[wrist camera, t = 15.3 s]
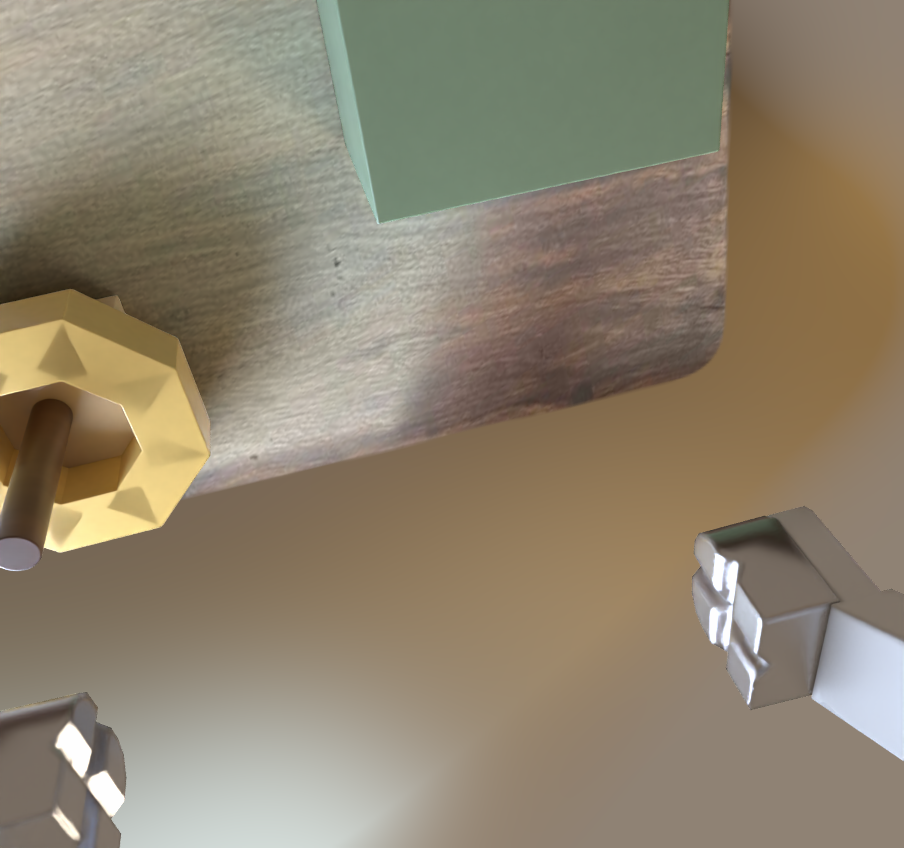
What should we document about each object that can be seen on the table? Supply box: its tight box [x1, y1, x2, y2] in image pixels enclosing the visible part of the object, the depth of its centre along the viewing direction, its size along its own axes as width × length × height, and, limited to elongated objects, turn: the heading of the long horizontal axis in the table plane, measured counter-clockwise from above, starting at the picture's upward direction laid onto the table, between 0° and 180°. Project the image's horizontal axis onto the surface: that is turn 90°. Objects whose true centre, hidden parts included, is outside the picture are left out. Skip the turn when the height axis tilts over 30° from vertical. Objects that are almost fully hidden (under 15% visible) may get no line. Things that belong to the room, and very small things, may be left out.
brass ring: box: [0, 289, 210, 552], centre depth 39 cm, size 12×12×3 cm
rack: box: [0, 295, 135, 571], centre depth 37 cm, size 9×9×11 cm
